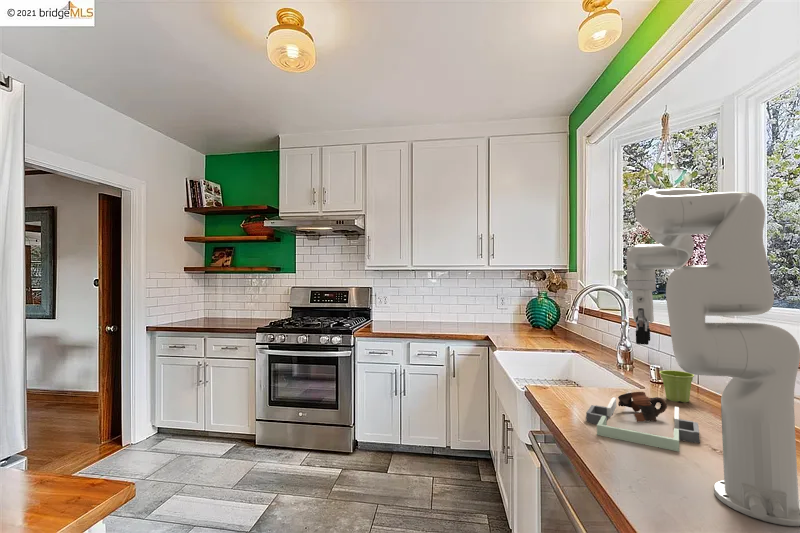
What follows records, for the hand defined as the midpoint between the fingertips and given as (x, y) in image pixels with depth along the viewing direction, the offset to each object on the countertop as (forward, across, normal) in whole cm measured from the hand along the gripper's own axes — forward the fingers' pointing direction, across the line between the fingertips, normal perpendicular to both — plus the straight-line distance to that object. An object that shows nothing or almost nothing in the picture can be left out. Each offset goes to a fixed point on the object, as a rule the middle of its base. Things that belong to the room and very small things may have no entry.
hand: (643, 342), depth 120 cm
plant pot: (+20, +14, -8) cm, 26 cm away
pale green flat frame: (+20, -18, 0) cm, 27 cm away
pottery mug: (+20, -11, 0) cm, 23 cm away
